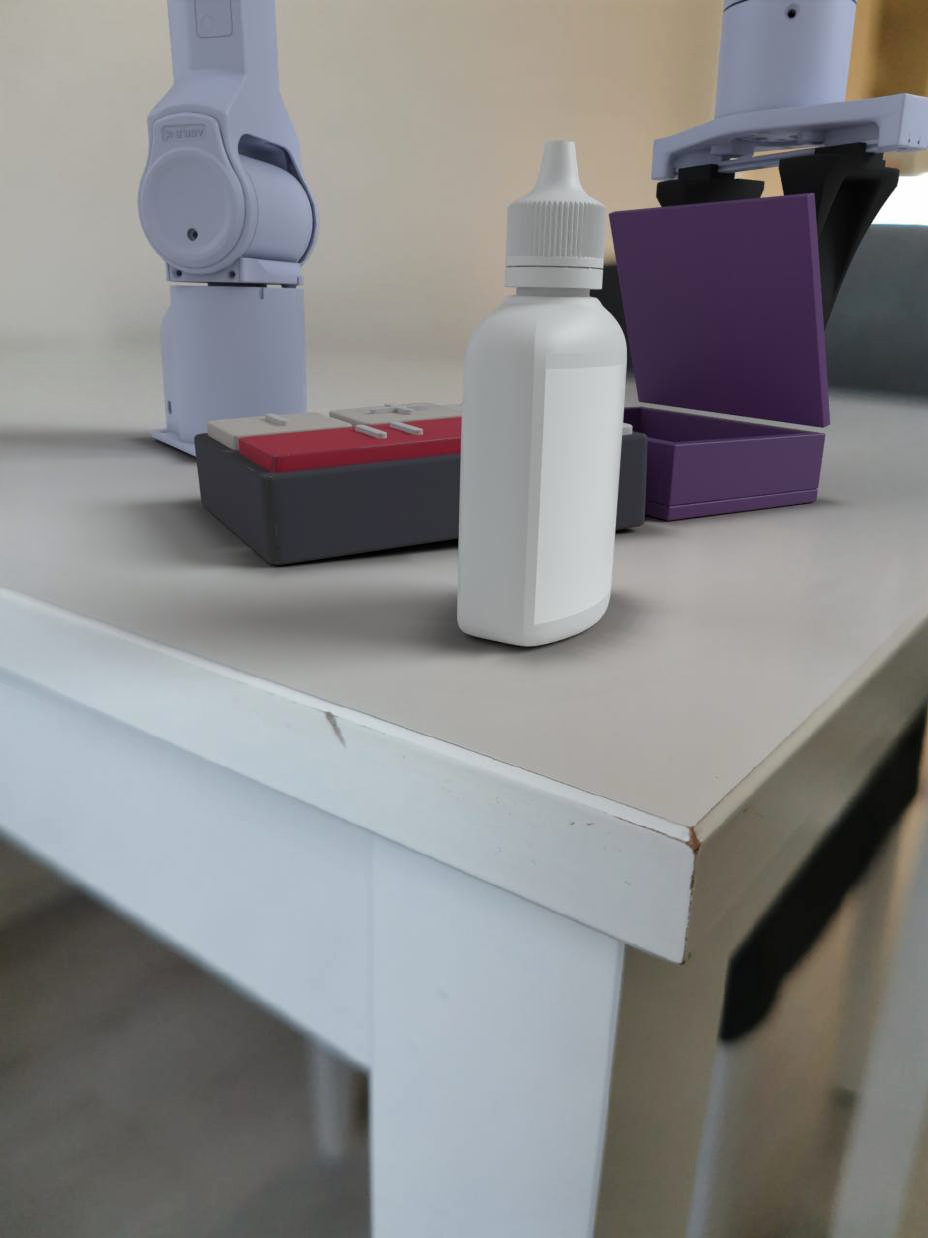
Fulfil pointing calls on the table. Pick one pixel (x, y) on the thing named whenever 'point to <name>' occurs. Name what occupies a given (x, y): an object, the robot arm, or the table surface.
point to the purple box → (723, 464)
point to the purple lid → (726, 307)
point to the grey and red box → (355, 479)
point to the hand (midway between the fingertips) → (756, 329)
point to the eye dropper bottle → (542, 425)
